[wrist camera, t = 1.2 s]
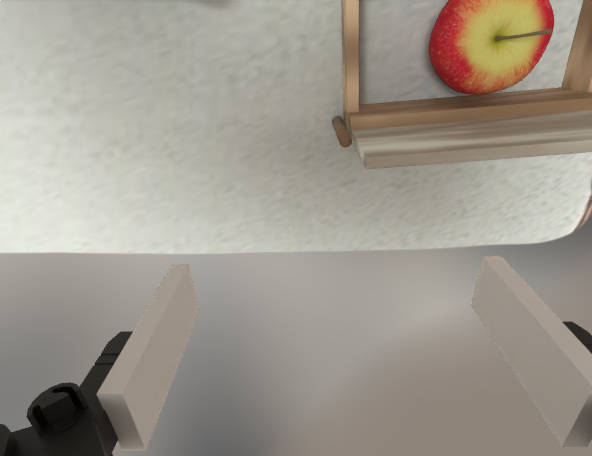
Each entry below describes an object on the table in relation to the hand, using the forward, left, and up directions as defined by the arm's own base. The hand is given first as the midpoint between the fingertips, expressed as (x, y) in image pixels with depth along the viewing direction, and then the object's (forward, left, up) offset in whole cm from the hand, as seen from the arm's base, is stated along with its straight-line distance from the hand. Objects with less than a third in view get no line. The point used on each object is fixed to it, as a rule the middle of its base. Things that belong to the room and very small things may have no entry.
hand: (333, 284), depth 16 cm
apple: (-9, +14, -24) cm, 29 cm away
